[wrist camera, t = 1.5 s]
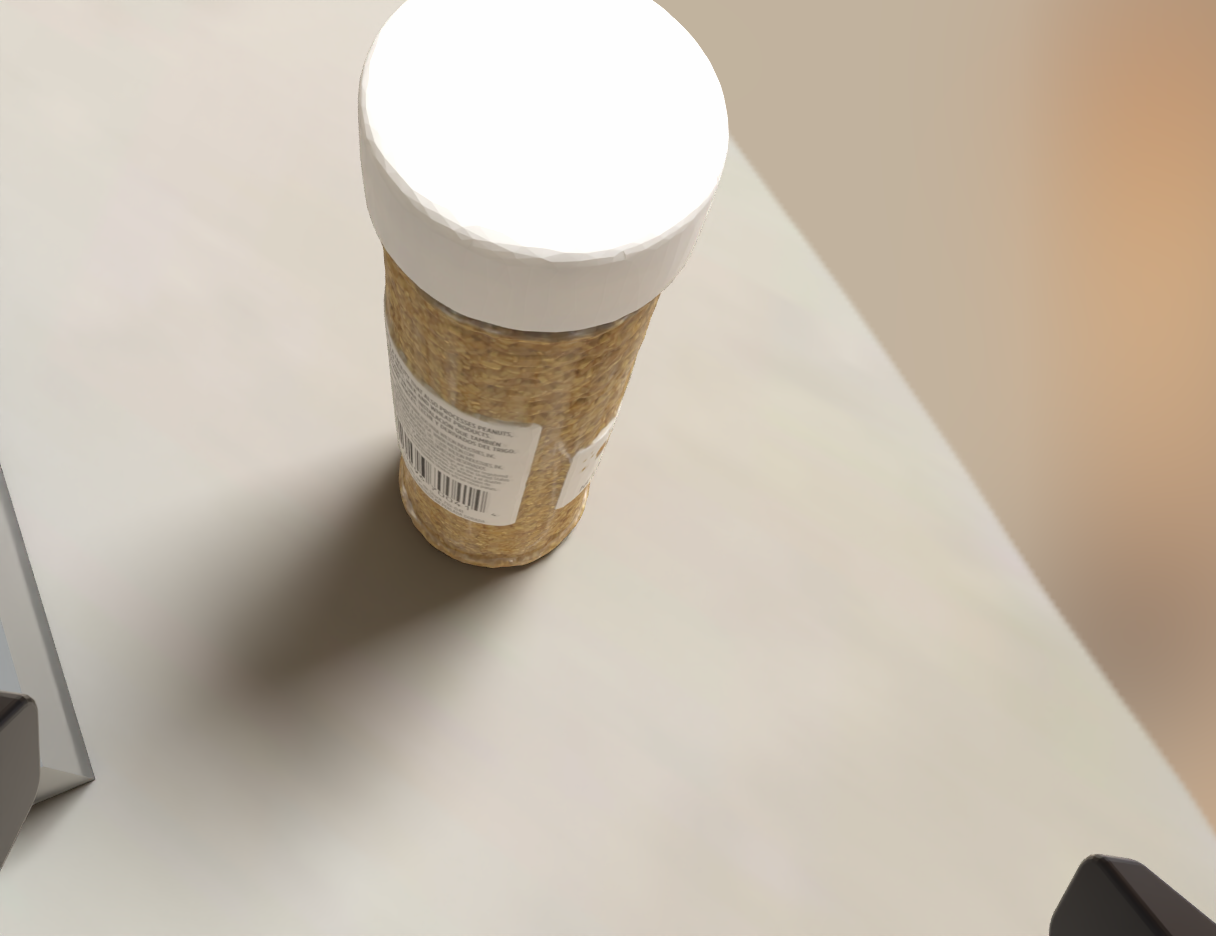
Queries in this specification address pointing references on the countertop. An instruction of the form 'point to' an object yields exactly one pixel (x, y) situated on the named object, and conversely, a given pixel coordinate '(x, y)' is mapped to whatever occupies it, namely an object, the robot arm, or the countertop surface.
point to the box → (36, 663)
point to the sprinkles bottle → (526, 243)
